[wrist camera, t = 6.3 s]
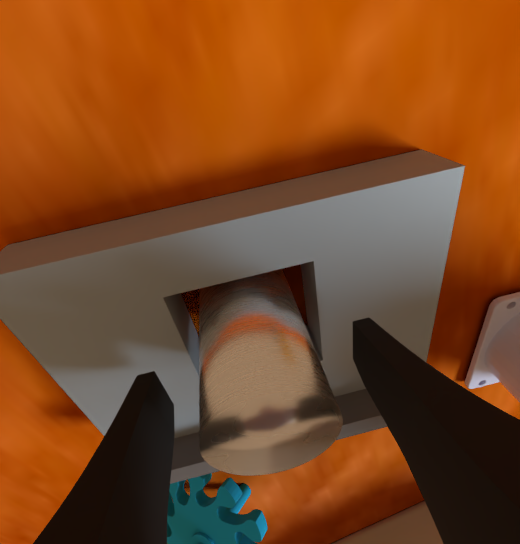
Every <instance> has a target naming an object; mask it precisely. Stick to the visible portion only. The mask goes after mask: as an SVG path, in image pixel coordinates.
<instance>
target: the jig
mask: <svg viewBox="0 0 520 544" xmlns="http://www.w3.org/2000/svg"><path fill="white" fill-rule="evenodd" d="M464 168H465V166H464V165H462V164H459V163H456V162H454V161H451V160H448V159H446V158H443V157H440V156H438V155H435V154H432V153H430V152H427V151H424V150H422V149H421V150H417V151H412V152H408V153H404V154H399V155H395V156H391V157H386V158H382V159H378V160H373V161H369V162H365V163H360V164H356V165H352V166H347V167H343V168H339V169H334V170H330V171H326V172H321V173H317V174H313V175H308V176H304V177H300V178H295V179H291V180H287V181H282V182H278V183H274V184H269V185H265V186H261V187H256V188H252V189H248V190H243V191H239V192H235V193H230V194H226V195H222V196H217V197H213V198H209V199H204V200H200V201H196V202H191V203H187V204H183V205H178V206H174V207H170V208H165V209H161V210H157V211H152V212H148V213H144V214H139V215H135V216H131V217H126V218H122V219H118V220H113V221H109V222H105V223H100V224H96V225H92V226H87V227H83V228H79V229H74V230H70V231H66V232H61V233H57V234H53V235H48V236H44V237H40V238H35V239H31V240H27V241H22V242H18V243H14V244H9V245H7V246H6V247H5V248H3V249H2V250H1V251H0V319H1V320H2V321H3V323H4V324H5V325H6V326H7V327H8V328H9V329H10V330H11V332H12V333H13V334H14V335H15V336H16V337H17V338H18V339H19V341H20V342H21V343H22V344H23V345H24V346H25V347H26V348H27V350H28V351H29V352H30V353H31V354H32V355H33V356H34V357H35V359H36V360H37V361H38V362H39V363H40V364H41V365H42V366H43V368H44V369H45V370H46V371H47V372H48V373H49V374H50V375H51V377H52V378H53V379H54V380H55V381H56V382H57V383H58V384H59V386H60V387H61V388H62V389H63V390H64V391H65V392H66V393H67V395H68V396H69V397H70V398H71V399H72V400H73V401H74V402H75V404H76V405H77V406H78V407H79V408H80V409H81V410H82V411H83V413H84V414H85V415H86V416H87V417H88V418H89V419H90V420H91V422H92V423H93V424H94V425H95V426H96V427H97V428H98V429H99V431H100V432H101V433H102V434H103V435H104V436H105V434H106V433H107V431H108V429H109V427H110V425H111V424H112V422H113V420H114V418H115V416H116V414H117V413H118V411H119V409H120V407H121V405H122V403H123V401H124V399H125V397H126V395H127V394H128V392H129V390H130V388H131V386H132V384H133V382H134V380H135V378H136V377H137V375H141V374H145V373H149V372H153V371H155V373H156V374H157V376H158V378H159V380H160V381H161V383H162V385H163V386H164V388H165V390H166V392H167V393H168V395H169V397H170V399H171V400H172V402H173V404H174V426H175V435H174V447H173V458H172V469H171V479H170V484H172V483H175V482H179V481H183V480H187V479H191V478H194V477H198V476H202V475H206V474H209V473H213V472H217V471H220V470H218V469H215V468H214V467H212V466H210V465H209V464H208V463H207V462H206V461H205V460H204V459H203V457H202V455H201V453H200V448H199V336H198V334H197V331H196V329H195V326H194V324H193V321H192V319H191V317H190V314H189V312H188V309H187V307H186V304H185V302H184V300H183V297H182V295H181V293H183V292H187V291H192V290H196V289H200V288H204V287H208V286H212V285H216V284H221V283H225V282H229V281H233V280H237V279H241V278H245V277H249V276H254V275H258V274H262V273H266V272H270V271H274V270H278V269H283V268H287V267H291V266H295V265H299V264H300V265H301V273H302V281H303V290H304V298H305V306H306V314H307V322H308V325H305V326H306V329H307V331H308V333H309V336H310V338H311V341H312V343H313V346H314V348H315V350H316V353H317V355H318V358H319V360H320V363H321V365H322V368H323V370H324V372H325V375H326V377H327V380H328V382H329V385H330V387H331V390H332V392H333V394H334V397H335V399H336V402H337V404H338V407H339V409H340V412H341V414H342V418H343V425H342V429H341V432H340V434H339V436H338V437H337V439H336V440H338V439H342V438H346V437H349V436H353V435H357V434H361V433H365V432H368V431H372V430H376V429H380V428H384V427H387V424H386V423H385V421H384V419H383V417H382V416H381V414H380V412H379V410H378V409H377V407H376V405H375V403H374V402H373V400H372V398H371V396H370V395H369V393H368V391H367V389H366V387H365V386H364V384H363V381H362V379H361V377H360V375H359V372H358V370H357V368H356V365H355V363H354V360H353V321H356V320H360V319H364V318H368V317H369V318H371V319H372V320H373V321H375V322H376V323H377V324H378V325H379V326H380V327H382V328H383V329H384V330H385V331H386V332H388V333H389V334H390V335H391V336H393V337H394V338H395V339H396V340H398V341H399V342H400V343H401V344H403V345H404V346H405V347H406V348H408V349H409V350H410V351H412V352H413V353H414V354H416V355H417V356H418V357H420V358H421V359H422V360H424V361H425V362H426V361H427V356H428V351H429V346H430V341H431V336H432V331H433V326H434V320H435V315H436V310H437V305H438V300H439V295H440V290H441V285H442V280H443V275H444V270H445V265H446V260H447V254H448V249H449V244H450V239H451V234H452V229H453V224H454V219H455V214H456V209H457V204H458V199H459V194H460V189H461V183H462V178H463V173H464Z"/></svg>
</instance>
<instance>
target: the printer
mask: <svg viewBox="0 0 520 544" xmlns="http://www.w3.org/2000/svg"><path fill="white" fill-rule="evenodd" d="M331 544H443V542H442V539H441V537H440V535H439V532H438V530H437V527H436V525H435V523H434V520H433V518H432V516H431V514H430V511H429V509H428V507H427V505H426V503H425V501H422V502H420V503H418V504H416V505H414V506H412V507H409V508H407V509H405V510H403V511H401V512H399V513H396V514H394V515H392V516H390V517H388V518H386V519H383V520H381V521H379V522H377V523H375V524H373V525H370V526H368V527H366V528H364V529H362V530H360V531H357V532H355V533H353V534H351V535H349V536H346V537H344V538H342V539H340V540H338V541H336V542H333V543H331Z"/></svg>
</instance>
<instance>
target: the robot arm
mask: <svg viewBox="0 0 520 544" xmlns="http://www.w3.org/2000/svg"><path fill="white" fill-rule="evenodd" d="M353 360H354V363H355V365H356V368H357V370H358V372H359V375H360V377H361V379H362V381H363V384H364V386H365V387H366V389H367V391H368V393H369V395H370V396H371V398H372V400H373V402H374V403H375V405H376V407H377V409H378V410H379V412H380V414H381V416H382V417H383V419H384V421H385V423H386V424H387V426H388V428H389V430H390V431H391V433H392V435H393V437H394V438H395V440H396V442H397V444H398V445H399V447H400V449H401V451H402V453H403V455H404V457H405V459H406V461H407V463H408V465H409V467H410V470H411V472H412V474H413V476H414V478H415V480H416V483H417V485H418V487H419V489H420V491H421V494H422V496H423V498H424V500H425V503H426V505H427V507H428V509H429V511H430V514H431V516H432V518H433V520H434V523H435V525H436V527H437V530H438V532H439V535H440V537H441V539H442V542H443V544H520V420H519V419H517V418H515V417H513V416H511V415H509V414H508V413H506V412H504V411H502V410H500V409H499V408H497V407H495V406H493V405H492V404H490V403H488V402H486V401H485V400H483V399H481V398H480V397H478V396H476V395H475V394H473V393H471V392H470V391H468V390H466V389H465V388H463V387H462V386H460V385H459V384H457V383H455V382H454V381H452V380H451V379H449V378H448V377H446V376H445V375H444V374H442V373H441V372H439V371H438V370H436V369H435V368H433V367H432V366H431V365H429V364H428V363H426V362H425V361H424V360H422V359H421V358H420V357H418V356H417V355H416V354H414V353H413V352H412V351H410V350H409V349H408V348H406V347H405V346H404V345H403V344H401V343H400V342H399V341H398V340H396V339H395V338H394V337H393V336H391V335H390V334H389V333H388V332H386V331H385V330H384V329H383V328H382V327H380V326H379V325H378V324H377V323H376V322H375V321H373V320H372V319H371V318H369V317H368V318H364V319H360V320H356V321H353ZM497 382H501V383H502V384H503V385H504V386H505V387H506V388H507V389H508V390H509V391H510V393H511V394H512V395H513V396H514V397H515V398H516V399H517V400H518V401H519V402H520V292H517V293H513V294H509V295H505V296H501V297H498V298H496V299H494V300H493V301H492V302H491V303H490V305H489V308H488V311H487V314H486V317H485V321H484V324H483V327H482V330H481V333H480V336H479V339H478V342H477V345H476V348H475V352H474V355H473V358H472V361H471V364H470V367H469V370H468V373H467V376H466V379H465V385H466V386H467V387H468V388H469V389H474V388H478V387H482V386H486V385H490V384H493V383H497ZM174 435H175V426H174V404H173V402H172V400H171V399H170V397H169V395H168V393H167V392H166V390H165V388H164V386H163V385H162V383H161V381H160V380H159V378H158V376H157V374H156V373H155V371H153V372H149V373H145V374H141V375H137V377H136V378H135V380H134V382H133V384H132V386H131V388H130V390H129V392H128V394H127V395H126V397H125V399H124V401H123V403H122V405H121V407H120V409H119V411H118V413H117V414H116V416H115V418H114V420H113V422H112V424H111V425H110V427H109V429H108V431H107V433H106V434H105V436H104V438H103V440H102V442H101V443H100V445H99V447H98V448H97V450H96V452H95V453H94V455H93V457H92V458H91V460H90V462H89V463H88V465H87V467H86V468H85V470H84V471H83V473H82V475H81V476H80V478H79V479H78V481H77V482H76V484H75V485H74V487H73V489H72V490H71V492H70V493H69V495H68V496H67V497H66V499H65V500H64V502H63V503H62V505H61V506H60V508H59V509H58V510H57V512H56V513H55V515H54V516H53V517H52V519H51V520H50V521H49V523H48V524H47V526H46V527H45V528H44V530H43V531H42V532H41V534H40V535H39V536H38V538H37V539H36V540H35V542H34V543H33V544H167V514H168V500H169V489H170V479H171V469H172V458H173V447H174Z"/></svg>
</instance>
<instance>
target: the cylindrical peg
mask: <svg viewBox="0 0 520 544" xmlns="http://www.w3.org/2000/svg"><path fill="white" fill-rule="evenodd" d="M342 425H343V418H342V414H341V412H340V409H339V407H338V404H337V402H336V399H335V397H334V394H333V392H332V390H331V387H330V385H329V382H328V380H327V377H326V375H325V372H324V370H323V368H322V365H321V363H320V360H319V358H318V355H317V353H316V350H315V348H314V346H313V343H312V341H311V338H310V336H309V333H308V331H307V329H306V326H305V324H304V321H303V319H302V316H301V314H300V311H299V309H298V307H297V304H296V302H295V299H294V297H293V294H292V292H291V289H290V287H289V285H288V282H287V280H286V277H285V275H284V273H283V270H282V269H278V270H274V271H270V272H266V273H262V274H258V275H254V276H249V277H245V278H241V279H237V280H233V281H229V282H225V283H221V284H216V285H212V286H208V287H204V288H200V289H199V448H200V453H201V455H202V457H203V459H204V460H205V461H206V462H207V463H208V464H209V465H210V466H212V467H214V468H215V469H218V470H220V471H223V472H226V473H230V474H236V475H264V474H271V473H277V472H281V471H285V470H288V469H291V468H294V467H297V466H299V465H302V464H304V463H306V462H308V461H310V460H312V459H314V458H315V457H317V456H318V455H320V454H321V453H323V452H324V451H325V450H326V449H328V448H329V447H330V446H331V445H332V444H333V442H334V441H335V440H336V439H337V437H338V436H339V434H340V432H341V429H342Z"/></svg>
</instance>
